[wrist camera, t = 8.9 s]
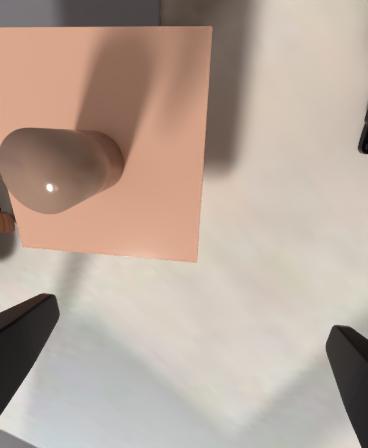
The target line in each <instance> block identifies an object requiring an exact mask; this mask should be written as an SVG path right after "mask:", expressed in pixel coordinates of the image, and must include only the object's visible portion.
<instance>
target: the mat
mask: <svg viewBox="0 0 368 448" xmlns="http://www.w3.org/2000/svg"><path fill="white" fill-rule="evenodd" d="M143 26H160V0H0V28H1V27H143Z"/></svg>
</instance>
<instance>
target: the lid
mask: <svg viewBox="0 0 368 448" xmlns="http://www.w3.org/2000/svg"><path fill="white" fill-rule="evenodd" d="M211 46H212V26H143V27H1V28H0V174H1V177H2V179H3V181H4V183H5V185H6V187H7V189H8V193H9V197H10V200H11V204H12V208H13V212H14V215H15V219H16V223H17V227H18V230H19V234H20V238H21V242H22V245H23V247H28V248H39V249H50V250H61V251H72V252H83V253H94V254H106V255H117V256H128V257H139V258H150V259H161V260H172V261H183V262H194V263H197V256H198V241H199V226H200V211H201V196H202V181H203V166H204V151H205V136H206V121H207V106H208V91H209V76H210V61H211Z"/></svg>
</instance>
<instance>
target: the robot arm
mask: <svg viewBox="0 0 368 448" xmlns="http://www.w3.org/2000/svg"><path fill="white" fill-rule="evenodd" d="M367 144H368V110H367V113H366V116H365V126H364V129H363V132H362V136H361V139H360V142H359V145H358V150H359V152H360V153H363V154H368V149H367V150H366V145H367ZM59 315H60V312H59V308H58V303H57V299H56V296H55V295H53V294H46V293H42V294H39V295H37V296H35V297H33V298H31V299H28V300H26V301H24V302H22V303H20V304H18V305H16V306H13V307H11V308H9V309H7V310H5V311H3V312H1V313H0V415H1V414H2V412H3V411H4V409H5V408H6V406H7V405H8V403H9V402H10V400H11V399H12V397H13V396H14V394H15V393H16V391H17V390H18V388H19V387H20V385H21V384H22V382H23V380H24V379H25V377H26V376H27V374H28V373H29V371H30V370H31V368H32V367H33V365H34V363H35V361H36V360H37V358H38V356H39V354H40V353H41V351H42V349H43V347H44V345H45V343H46V342H47V340H48V338H49V336H50V334H51V332H52V331H53V329H54V327H55V325H56V323H57V321H58V319H59ZM326 353H327V356H328V359H329V362H330V365H331V368H332V371H333V374H334V377H335V380H336V383H337V386H338V389H339V392H340V395H341V398H342V401H343V404H344V406H345V409H346V412H347V414H348V417H349V419H350V421H351V424H352V426H353V428H354V431H355V433H356V435H357V438H358V440H359V442H360V445H361V447H362V448H368V339H366V338H365V337H364V336H362V335H361V334H360V333H358V332H357V331H355V330H354V329H353V328H351V327H349V326H342V325H334V326H333V327H332V329H331V332H330V334H329V337H328V340H327V342H326Z"/></svg>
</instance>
